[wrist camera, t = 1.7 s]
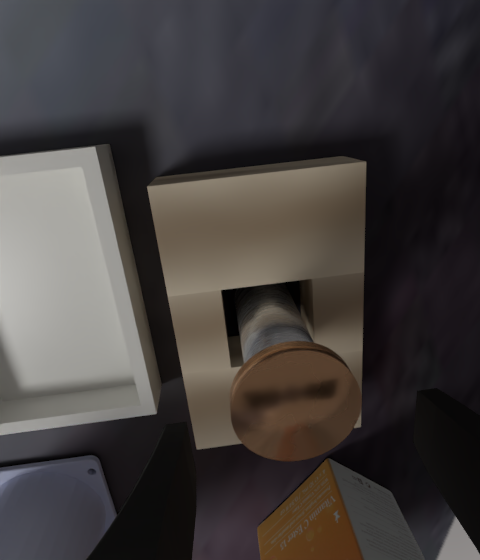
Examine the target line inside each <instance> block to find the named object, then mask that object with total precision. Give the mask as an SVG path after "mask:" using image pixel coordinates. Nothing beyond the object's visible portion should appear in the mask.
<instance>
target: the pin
mask: <svg viewBox="0 0 480 560" xmlns="http://www.w3.org/2000/svg"><path fill="white" fill-rule="evenodd" d="M234 300H235V308H236V314H237V321H238V328H239V334H240V341H241V347H242V354H243V361H244V364H243V366H242V367H241V368H240V369H239V371H238V372H237V374H236V376H235V377H234V380H233V382H232V385H231V389H230V396H229V399H230V413H231V422H232V426H233V429H234V431H235V434H236V435H237V437H238V438H239V440H240V441H241V442H242V443H243V444H244V445H245V446H246V447H247V448H248V449H250V450H251V451H253V452H254V453H256V454H258V455H260V456H262V457H265V458H268V459H273V460H278V461H300V460H305V459H309V458H313V457H316V456H318V455H321V454H323V453H325V452H327V451H329V450H331V449H332V448H334V447H335V446H337V445H338V444H339V443H341V442H342V441H343V440H344V439H345V438H346V437H347V436H348V435H349V433H350V432H351V431H352V430H353V428H354V426H355V425H356V423H357V421H358V418H359V416H360V412H361V406H362V396H361V391H360V388H359V385H358V383H357V381H356V379H355V377H354V376H353V374H352V372H351V371H350V369H349V367H348V366H347V364H346V362H345V361H344V360H343V359H342V358H341V357H340V356H339V355H338V354H337V353H336V352H334V351H333V350H331V349H329V348H327V347H325V346H323V345H320V344H317V343H314V342H313V340H312V337H311V335H310V333H309V331H308V329H307V327H306V325H305V323H304V321H303V319H302V317H301V315H300V313H299V311H298V309H297V307H296V305H295V303H294V300H293V298H292V296H291V294H290V292H289V290H288V288H287V286H286V284H285V283H284V282H282V283H274V284H266V285H258V286H250V287H242V288H237V290H236V293H235V298H234Z"/></svg>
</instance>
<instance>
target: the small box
mask: <svg viewBox="0 0 480 560" xmlns="http://www.w3.org/2000/svg"><path fill="white" fill-rule="evenodd" d="M257 531H258V540H259V549H260V558H261V560H425V559H424V557H423V555H422V553H421V551H420V548H419V546H418V544H417V542H416V541H415V539H414V537H413V535H412V533H411V531H410V529H409V527H408V525H407V523H406V521H405V519H404V517H403V515H402V513H401V510H400V508H399V506H398V505H397V502H396V500H395V498H394V496H393V494H392V493H391V491H389V490H387V489H385V488H384V487H382V486H380V485H378V484H376V483H375V482H373V481H371V480H369V479H367V478H365V477H363V476H362V475H360V474H358V473H356V472H354V471H352V470H350V469H349V468H347V467H345V466H343V465H341V464H339V463H337V462H335V461H333V460H332V459H329V458H327V459H326V460H325V461H324V462H323V463H322V464H321V465H320V466H319V468H318V469H317V470H316V471H315V472H314V473H313V474H312V475H311V476H310V477H309V478H308V479H307V480H306V481H305V482H304V483H303V484H302V485H301V486H300V487H299V488H298V489H297V490H296V491H295V492H294V493H293V494H292V495H291V496H290V497H289V498H288V499H287V500H286V501H285V502H284V503H282V504H281V505H280V506H279V507H278V508H277V509H276V510H275V511H274V512H273V513H272V514H271V515H270V516H269V517H268V518H267V519H266V520H265V521H263V522H262V523H261V524H260V525H259V526H258V529H257Z"/></svg>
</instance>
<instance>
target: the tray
mask: <svg viewBox="0 0 480 560" xmlns="http://www.w3.org/2000/svg"><path fill="white" fill-rule="evenodd" d="M161 386H162V383H161V379H160V374H159V369H158V365H157V360H156V355H155V351H154V346H153V342H152V337H151V332H150V328H149V323H148V318H147V314H146V309H145V305H144V300H143V295H142V291H141V286H140V281H139V277H138V272H137V267H136V263H135V258H134V254H133V249H132V244H131V240H130V235H129V230H128V226H127V221H126V217H125V212H124V207H123V203H122V198H121V193H120V189H119V184H118V180H117V175H116V170H115V166H114V161H113V156H112V152H111V147H110V144H102V145H93V146H84V147H75V148H66V149H57V150H48V151H39V152H30V153H21V154H12V155H3V156H0V435H5V434H12V433H19V432H27V431H34V430H42V429H49V428H57V427H64V426H72V425H79V424H86V423H94V422H101V421H109V420H116V419H124V418H131V417H138V416H146V415H153V414H157V409H158V403H159V398H160V392H161Z"/></svg>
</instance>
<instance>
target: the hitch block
mask: <svg viewBox="0 0 480 560" xmlns="http://www.w3.org/2000/svg"><path fill="white" fill-rule="evenodd" d="M147 190H148V195H149V200H150V205H151V211H152V216H153V221H154V227H155V232H156V237H157V242H158V248H159V253H160V258H161V264H162V269H163V274H164V279H165V285H166V290H167V295H168V301H169V306H170V311H171V316H172V322H173V327H174V332H175V338H176V343H177V348H178V353H179V359H180V364H181V369H182V375H183V380H184V385H185V390H186V396H187V401H188V406H189V412H190V417H191V422H192V427H193V433H194V438H195V443H196V448H197V450H199V449H206V448H213V447H220V446H228V445H235V444H242V442H241V441H240V440H239V438H238V437H237V435H236V434H235V431H234V429H233V426H232V422H231V413H230V399H229V396H230V389H231V385H232V382H233V380H234V377H235V376H236V374H237V372H238V371H239V369H240V368H241V367H242V366H243V364H244V361H243V354H242V347H241V341H240V336H232V337H228V333H227V325H226V318H225V310H224V302H223V295H222V290H226V289H234V288H242V287H250V286H258V285H266V284H274V283H282V282H290V281H298V280H299V285H300V306H301V317H302V319H303V321H304V323H305V325H306V327H307V329H308V331H309V333H310V335H311V337H312V340H313V342H314V343H317V344H320V345H323V346H325V347H327V348H329V349H331V350H333V351H334V352H336V353H337V354H338V355H339V356H340V357H341V358H342V359H343V360H344V361H345V362H346V364H347V366H348V367H349V369H350V371H351V372H352V374H353V376H354V377H355V379H356V381H357V383H358V385H359V388H360V391H361V396H362V352H363V302H364V253H365V203H366V161H362V160H358V159H354V158H350V157H345V156H337V157H329V158H320V159H311V160H302V161H294V162H285V163H276V164H267V165H259V166H250V167H241V168H232V169H223V170H215V171H206V172H197V173H188V174H180V175H171V176H162V177H156V178H155V179H154V180H153V181H152V182H151V183H150V184H149V185H148V186H147ZM358 427H361V412H360V416H359V418H358V421H357V423H356V425H355V426H354V428H358Z"/></svg>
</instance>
